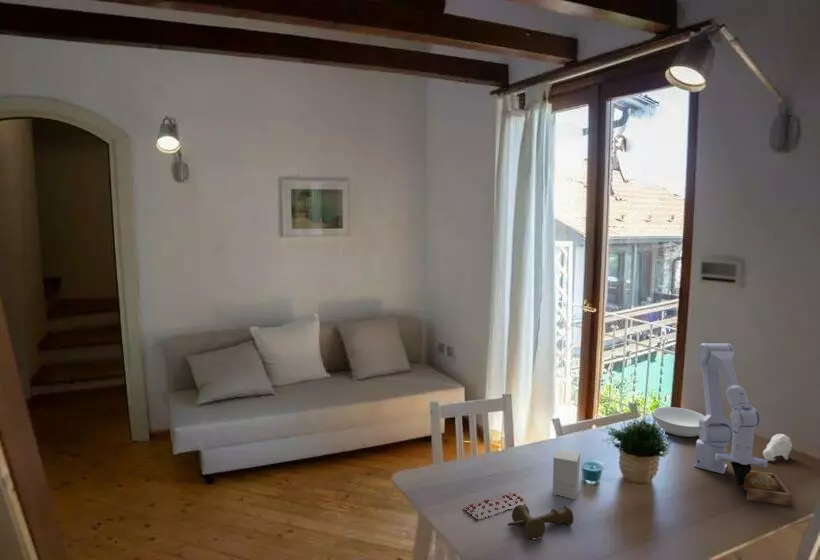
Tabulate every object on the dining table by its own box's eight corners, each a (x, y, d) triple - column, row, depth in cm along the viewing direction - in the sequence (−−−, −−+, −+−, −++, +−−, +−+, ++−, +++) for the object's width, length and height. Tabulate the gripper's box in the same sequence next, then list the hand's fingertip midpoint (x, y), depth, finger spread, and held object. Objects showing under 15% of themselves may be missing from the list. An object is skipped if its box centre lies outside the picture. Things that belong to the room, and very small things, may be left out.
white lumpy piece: (794, 435, 203) (775, 445, 197) (793, 457, 204) (774, 467, 199) (776, 429, 208) (757, 438, 203) (775, 450, 210) (756, 460, 204)
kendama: (578, 533, 156) (515, 544, 150) (559, 516, 166) (499, 525, 159) (580, 513, 156) (516, 523, 150) (560, 497, 165) (500, 505, 159)
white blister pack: (527, 505, 171) (527, 499, 171) (477, 522, 161) (477, 516, 161) (512, 495, 177) (512, 489, 177) (463, 510, 168) (463, 504, 167)
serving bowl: (659, 440, 219) (660, 423, 218) (646, 420, 239) (647, 405, 238) (716, 444, 216) (717, 427, 215) (697, 424, 236) (699, 408, 235)
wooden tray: (747, 499, 174) (748, 489, 174) (734, 478, 188) (735, 468, 188) (790, 505, 171) (791, 495, 171) (774, 483, 185) (775, 473, 185)
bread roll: (756, 509, 176) (769, 493, 172) (731, 482, 184) (742, 466, 180) (777, 503, 179) (790, 487, 175) (751, 477, 187) (763, 461, 183)
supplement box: (579, 489, 180) (581, 452, 178) (575, 500, 173) (577, 461, 172) (555, 484, 183) (557, 448, 181) (551, 495, 176) (553, 457, 175)
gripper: (720, 446, 178) (716, 486, 180) (772, 452, 174) (768, 493, 176) (715, 437, 185) (711, 476, 186) (764, 443, 181) (761, 483, 182)
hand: (738, 484), depth 181 cm, fingers closed
